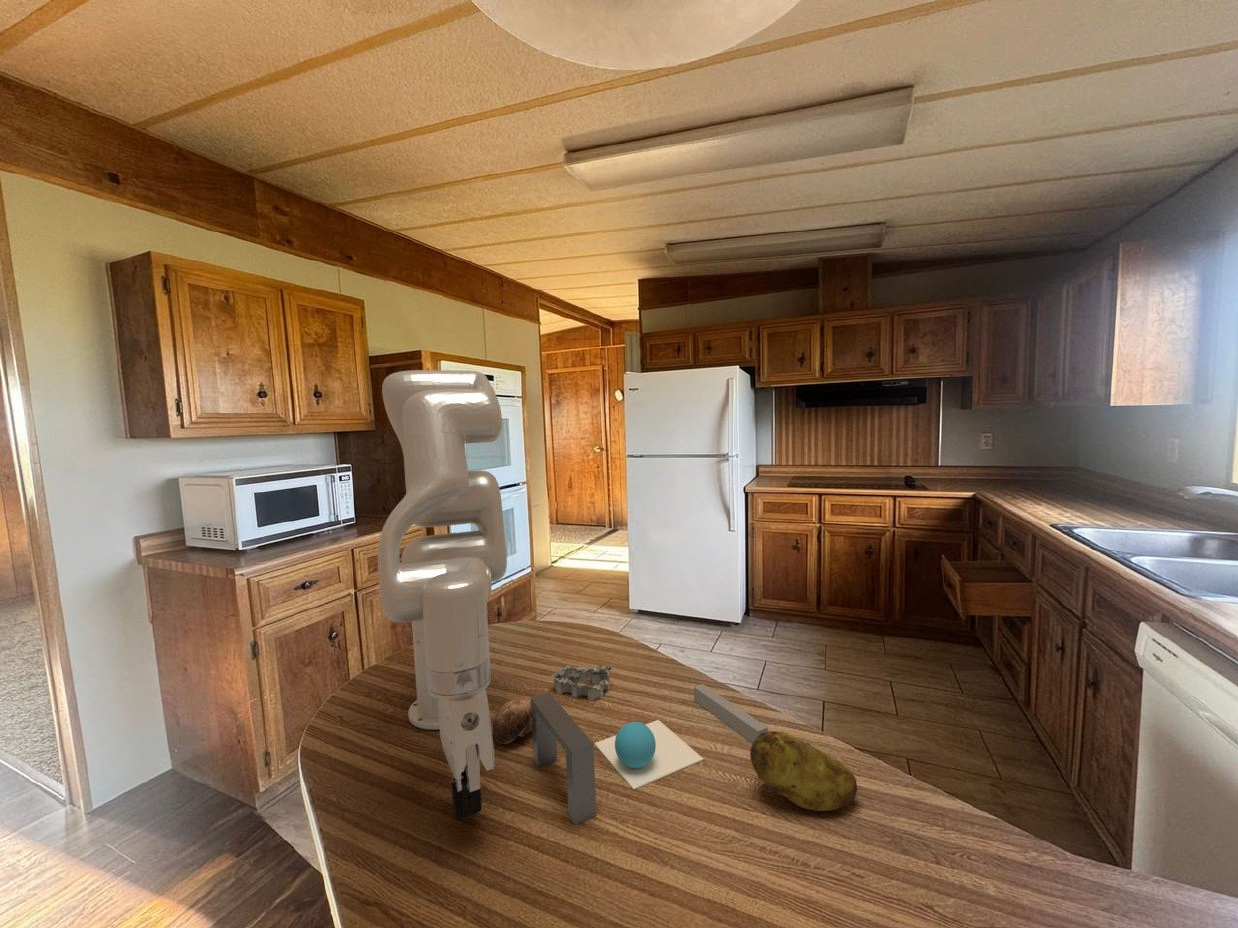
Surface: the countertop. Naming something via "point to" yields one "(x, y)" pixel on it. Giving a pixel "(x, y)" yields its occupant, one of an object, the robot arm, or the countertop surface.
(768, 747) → the potato
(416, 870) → the countertop surface
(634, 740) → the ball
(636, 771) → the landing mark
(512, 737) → the brown rounded lump
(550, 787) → the countertop surface
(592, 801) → the bridge
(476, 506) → the robot arm
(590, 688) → the grey scalloped ring
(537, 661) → the countertop surface
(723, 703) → the wall
